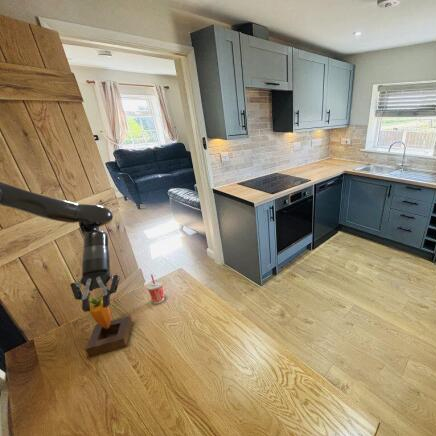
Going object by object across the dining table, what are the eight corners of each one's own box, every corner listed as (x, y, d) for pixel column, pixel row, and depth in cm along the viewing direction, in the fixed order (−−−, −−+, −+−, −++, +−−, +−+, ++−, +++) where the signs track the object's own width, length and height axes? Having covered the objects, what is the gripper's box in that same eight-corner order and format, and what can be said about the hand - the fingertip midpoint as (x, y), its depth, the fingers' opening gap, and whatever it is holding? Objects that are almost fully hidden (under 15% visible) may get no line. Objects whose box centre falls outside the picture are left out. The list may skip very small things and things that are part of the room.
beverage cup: (151, 306, 102) (143, 281, 97) (150, 297, 107) (143, 272, 102) (166, 302, 105) (159, 276, 99) (165, 293, 110) (159, 268, 104)
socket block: (89, 357, 81) (85, 349, 80) (99, 331, 91) (95, 324, 89) (126, 346, 85) (123, 338, 84) (132, 323, 94) (129, 315, 93)
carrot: (113, 320, 89) (100, 289, 83) (118, 327, 86) (105, 296, 80) (97, 328, 86) (82, 297, 79) (101, 336, 83) (86, 304, 76)
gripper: (65, 262, 79) (63, 315, 74) (115, 253, 84) (117, 303, 79) (76, 266, 86) (75, 315, 80) (123, 258, 91) (125, 304, 85)
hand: (96, 309), depth 80 cm, fingers closed on carrot, 4 cm apart
